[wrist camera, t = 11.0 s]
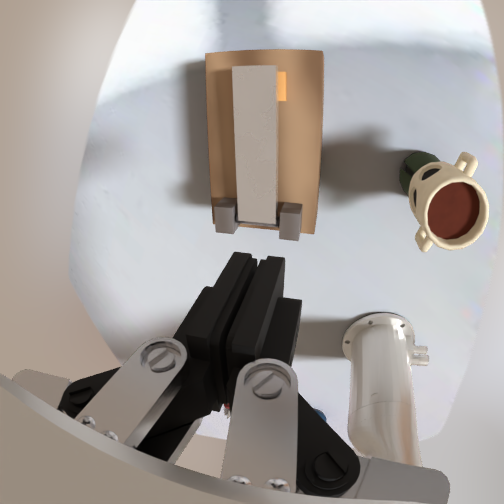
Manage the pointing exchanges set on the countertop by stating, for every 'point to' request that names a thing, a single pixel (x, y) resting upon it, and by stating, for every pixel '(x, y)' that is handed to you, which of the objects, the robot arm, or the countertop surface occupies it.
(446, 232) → the character mug
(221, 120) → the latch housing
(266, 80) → the latch lever
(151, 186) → the countertop surface
